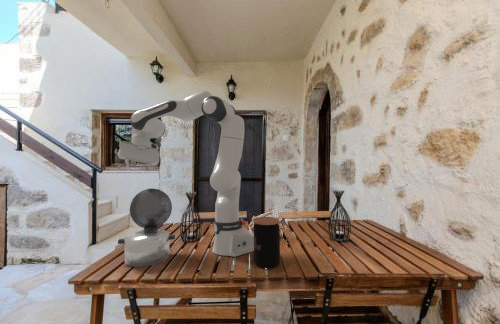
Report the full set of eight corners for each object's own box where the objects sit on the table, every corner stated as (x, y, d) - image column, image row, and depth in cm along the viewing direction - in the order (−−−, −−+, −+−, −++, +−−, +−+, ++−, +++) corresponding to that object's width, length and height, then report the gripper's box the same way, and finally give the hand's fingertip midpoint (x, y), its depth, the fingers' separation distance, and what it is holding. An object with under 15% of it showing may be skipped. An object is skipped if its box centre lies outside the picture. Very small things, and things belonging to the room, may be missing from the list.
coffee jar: (254, 258, 106) (253, 216, 106) (278, 258, 106) (278, 216, 106) (253, 269, 96) (253, 222, 96) (281, 269, 95) (280, 222, 95)
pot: (124, 253, 114) (124, 231, 114) (176, 248, 119) (176, 227, 119) (112, 269, 96) (112, 244, 96) (173, 263, 102) (173, 239, 102)
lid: (128, 231, 114) (130, 230, 118) (171, 228, 119) (172, 227, 122) (130, 189, 118) (131, 189, 121) (171, 187, 122) (172, 188, 125)
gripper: (121, 137, 123) (118, 163, 118) (161, 147, 136) (159, 171, 131) (117, 142, 127) (114, 167, 122) (156, 151, 141) (154, 174, 136)
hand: (138, 169), depth 127 cm, fingers open, 8 cm apart
